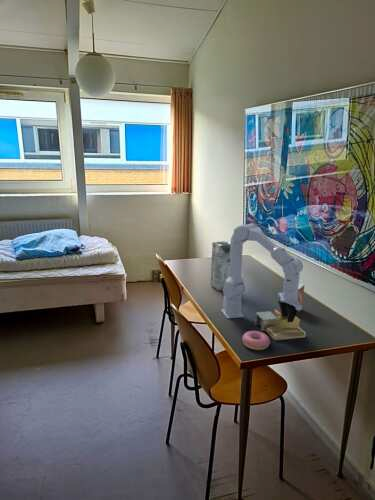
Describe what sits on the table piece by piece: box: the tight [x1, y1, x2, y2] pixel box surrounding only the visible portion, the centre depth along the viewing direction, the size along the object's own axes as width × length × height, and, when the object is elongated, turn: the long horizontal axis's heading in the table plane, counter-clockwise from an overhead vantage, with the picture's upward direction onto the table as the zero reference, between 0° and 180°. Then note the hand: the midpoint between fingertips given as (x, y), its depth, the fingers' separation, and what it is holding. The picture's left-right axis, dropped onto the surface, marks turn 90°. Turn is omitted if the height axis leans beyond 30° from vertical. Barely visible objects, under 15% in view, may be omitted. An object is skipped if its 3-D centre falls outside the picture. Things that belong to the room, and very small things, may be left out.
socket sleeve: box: [254, 311, 276, 332], centre depth 159 cm, size 8×7×5 cm
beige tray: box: [266, 326, 307, 341], centre depth 153 cm, size 7×14×2 cm, turn 104°
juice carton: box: [210, 240, 230, 292], centre depth 202 cm, size 9×10×27 cm
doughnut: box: [241, 330, 271, 351], centre depth 144 cm, size 11×11×4 cm
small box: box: [297, 283, 305, 314], centre depth 176 cm, size 8×6×13 cm
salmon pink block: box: [259, 309, 282, 327], centre depth 159 cm, size 5×8×6 cm, turn 104°
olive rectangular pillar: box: [275, 315, 301, 328], centre depth 152 cm, size 9×4×4 cm, turn 108°
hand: (287, 319), depth 151 cm, fingers closed on olive rectangular pillar, 4 cm apart
